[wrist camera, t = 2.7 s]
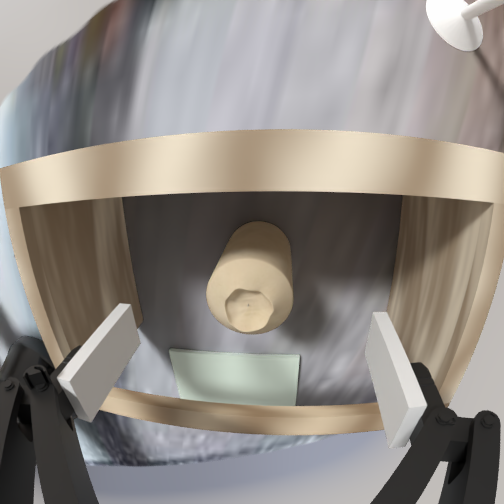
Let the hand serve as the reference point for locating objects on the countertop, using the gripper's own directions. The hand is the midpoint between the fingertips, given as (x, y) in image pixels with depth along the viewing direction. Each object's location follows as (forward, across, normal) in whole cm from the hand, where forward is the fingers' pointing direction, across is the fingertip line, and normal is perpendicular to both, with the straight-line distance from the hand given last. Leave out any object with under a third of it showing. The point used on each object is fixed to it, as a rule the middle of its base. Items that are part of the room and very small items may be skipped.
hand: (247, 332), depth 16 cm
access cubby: (+12, 0, +1) cm, 12 cm away
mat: (+12, -3, -17) cm, 21 cm away
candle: (+12, 0, 0) cm, 12 cm away
